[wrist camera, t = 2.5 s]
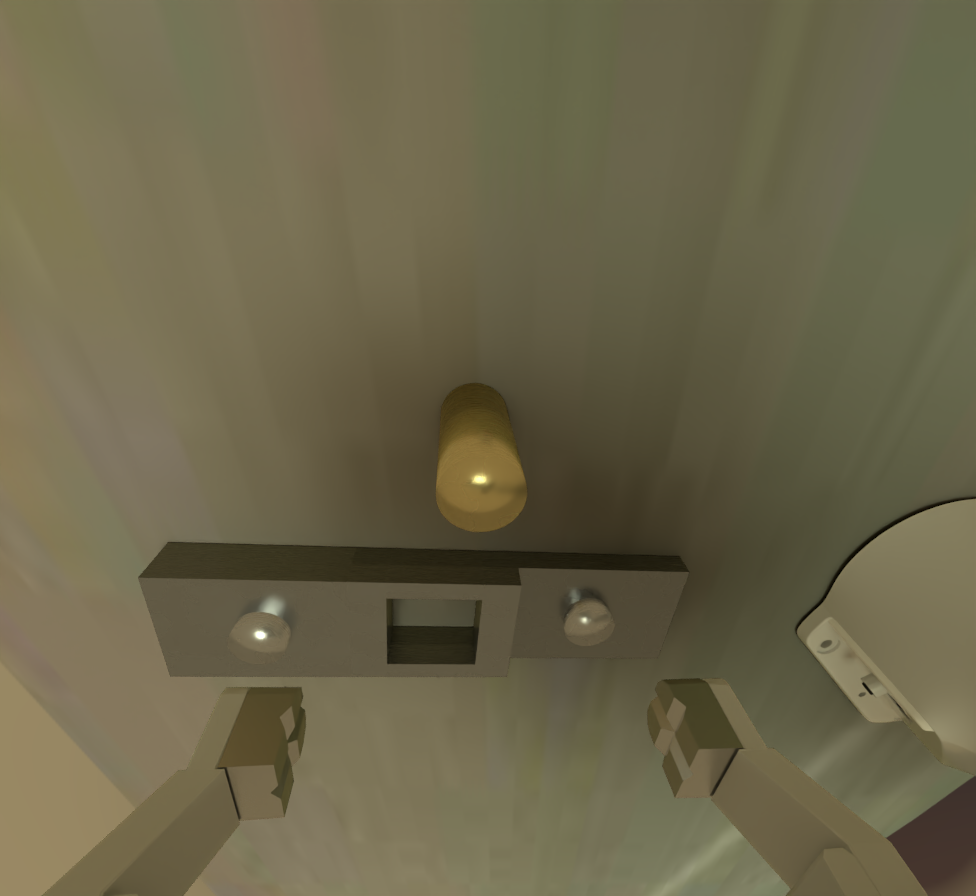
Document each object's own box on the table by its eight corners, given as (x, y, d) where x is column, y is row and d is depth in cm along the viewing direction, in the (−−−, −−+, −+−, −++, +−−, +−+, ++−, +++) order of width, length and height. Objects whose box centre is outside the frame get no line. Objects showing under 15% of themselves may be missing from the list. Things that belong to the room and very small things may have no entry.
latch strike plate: (679, 556, 31) (708, 601, 28) (650, 641, 35) (672, 690, 31) (168, 542, 28) (126, 591, 25) (194, 636, 32) (161, 691, 28)
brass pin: (518, 424, 26) (543, 506, 19) (462, 454, 27) (466, 545, 20) (486, 370, 24) (499, 438, 17) (427, 404, 25) (417, 482, 18)
